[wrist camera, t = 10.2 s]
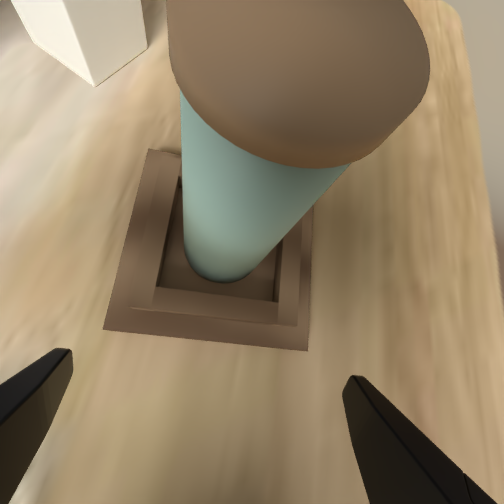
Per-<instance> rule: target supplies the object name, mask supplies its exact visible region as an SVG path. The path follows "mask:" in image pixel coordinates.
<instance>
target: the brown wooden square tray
mask: <svg viewBox="0 0 504 504" xmlns="http://www.w3.org/2000/svg"><path fill="white" fill-rule="evenodd" d="M312 225H313V205H312V207H311V208H310V209H309V210H308V211H307V212H306V213H305V214H304V215H303V216H302V217H301V219H300V220H299V221H298V222H297V223H296V224H295V225H294V226H293V227H292V228H291V229H290V231H289V232H288V233H287V234H286V235H285V236H284V237H283V238H282V239H281V240H280V241H279V243H278V244H277V245H276V246H275V247H274V248H273V249H272V250H271V251H270V252H269V253H268V255H267V256H266V257H265V258H264V259H263V260H262V261H261V262H260V263H259V264H258V265H257V267H256V268H255V269H254V270H253V271H252V272H251V273H250V274H249V275H248V276H246V277H245V278H243V279H241V280H239V281H236V282H233V283H225V284H223V283H215V282H211V281H208V280H206V279H204V278H203V277H201V276H200V275H198V274H197V273H196V272H195V271H194V270H193V269H192V268H191V266H190V265H189V263H188V261H187V259H186V256H185V252H184V229H183V188H182V155H178V154H173V153H168V152H163V151H158V150H153V149H148V153H147V156H146V160H145V164H144V168H143V172H142V176H141V180H140V184H139V188H138V192H137V196H136V200H135V204H134V208H133V212H132V216H131V220H130V223H129V227H128V231H127V235H126V239H125V243H124V247H123V251H122V255H121V259H120V263H119V267H118V271H117V275H116V279H115V283H114V287H113V290H112V294H111V298H110V302H109V306H108V310H107V314H106V318H105V322H104V326H103V330H110V331H120V332H129V333H139V334H148V335H157V336H167V337H176V338H186V339H195V340H205V341H214V342H223V343H233V344H242V345H252V346H261V347H271V348H280V349H290V350H299V351H308V334H309V307H310V280H311V252H312Z"/></svg>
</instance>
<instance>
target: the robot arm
mask: <svg viewBox="0 0 504 504" xmlns="http://www.w3.org/2000/svg"><path fill="white" fill-rule="evenodd" d="M72 374H73V357H72V351H71V350H70V349H65V348H55V349H53V350H52V351H50V352H49V353H47V354H46V355H44V356H43V357H41V358H40V359H38V360H37V361H35V362H34V363H32V364H31V365H29V366H28V367H26V368H25V369H23V370H22V371H20V372H19V373H17V374H16V375H14V376H13V377H11V378H10V379H8V380H7V381H5V382H4V383H2V384H1V385H0V504H9V502H10V500H11V498H12V496H13V494H14V493H15V491H16V489H17V487H18V485H19V484H20V482H21V480H22V478H23V476H24V474H25V473H26V471H27V469H28V467H29V465H30V464H31V462H32V460H33V458H34V456H35V454H36V453H37V451H38V449H39V447H40V445H41V443H42V442H43V440H44V438H45V436H46V434H47V432H48V430H49V428H50V426H51V424H52V421H53V419H54V417H55V414H56V412H57V410H58V407H59V405H60V403H61V400H62V398H63V396H64V393H65V391H66V389H67V386H68V384H69V381H70V379H71V377H72ZM342 398H343V403H344V408H345V413H346V418H347V423H348V428H349V432H350V437H351V442H352V446H353V449H354V453H355V456H356V459H357V463H358V466H359V469H360V473H361V476H362V479H363V483H364V486H365V489H366V493H367V496H368V499H369V502H370V504H497V503H496V502H495V501H494V500H493V499H492V498H491V497H490V496H489V495H488V494H486V493H485V492H484V491H483V490H482V489H481V488H480V487H479V486H478V485H477V484H476V483H475V482H474V481H473V480H472V479H471V478H469V477H468V476H467V475H466V474H465V473H463V471H462V470H461V469H460V468H459V467H458V466H457V465H456V464H455V463H454V462H453V461H452V460H451V459H450V458H448V457H447V456H446V455H445V454H444V453H443V452H442V451H441V450H440V449H439V448H438V447H437V446H436V445H435V444H434V443H433V442H432V441H431V440H430V439H429V438H428V437H426V436H425V435H424V434H423V433H422V432H421V431H420V430H419V429H418V428H417V427H416V426H415V425H414V424H413V423H412V422H411V421H410V420H409V419H408V418H407V417H406V416H405V415H403V414H402V413H401V412H400V411H399V410H398V409H397V408H396V407H395V406H394V405H393V404H392V403H391V402H390V401H389V400H388V399H387V398H386V397H385V396H384V395H383V394H381V393H380V392H379V391H378V390H377V389H376V388H375V387H374V386H373V385H372V384H371V383H370V382H369V381H368V380H367V379H366V378H365V377H363V376H358V375H352V376H350V378H349V379H348V381H347V383H346V385H345V387H344V389H343V393H342Z"/></svg>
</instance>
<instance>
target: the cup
mask: <svg viewBox="0 0 504 504" xmlns="http://www.w3.org/2000/svg"><path fill="white" fill-rule="evenodd" d="M166 7H167V24H168V41H169V57H170V62H171V67H172V71H173V73H174V76H175V79H176V82H177V84H178V86H179V88H180V106H181V147H182V188H183V229H184V252H185V256H186V259H187V261H188V263H189V265H190V266H191V268H192V269H193V270H194V271H195V272H196V273H197V274H198V275H200V276H201V277H203V278H204V279H206V280H208V281H211V282H215V283H223V284H225V283H233V282H236V281H239V280H241V279H243V278H245V277H246V276H248V275H249V274H250V273H251V272H252V271H253V270H254V269H255V268H256V267H257V265H258V264H259V263H260V262H261V261H262V260H263V259H264V258H265V257H266V256H267V255H268V253H269V252H270V251H271V250H272V249H273V248H274V247H275V246H276V245H277V244H278V243H279V241H280V240H281V239H282V238H283V237H284V236H285V235H286V234H287V233H288V232H289V231H290V229H291V228H292V227H293V226H294V225H295V224H296V223H297V222H298V221H299V220H300V219H301V217H302V216H303V215H304V214H305V213H306V212H307V211H308V210H309V209H310V208H311V207H312V205H313V204H314V203H315V202H316V201H317V200H318V199H319V198H320V197H321V196H322V195H323V193H324V192H325V191H326V190H327V189H328V188H329V187H330V186H331V185H332V184H333V183H334V181H335V180H336V179H337V178H338V177H339V176H340V175H341V174H342V173H343V172H344V171H345V169H346V168H347V167H348V166H349V165H350V164H351V163H352V162H354V161H357V160H360V159H361V158H363V157H365V156H367V155H368V154H370V153H371V152H373V151H374V150H375V149H376V148H377V147H378V146H380V145H381V144H382V143H383V142H384V140H385V139H386V138H387V137H388V136H389V135H390V134H391V133H392V132H393V131H394V130H395V129H396V128H397V127H398V126H399V125H400V124H401V123H402V122H403V121H404V120H405V119H406V118H407V117H408V116H409V115H410V114H411V113H412V112H413V111H414V109H415V108H416V107H417V106H418V104H419V103H420V102H421V100H422V98H423V96H424V94H425V92H426V89H427V86H428V82H429V75H430V58H429V53H428V48H427V44H426V41H425V38H424V35H423V32H422V30H421V28H420V26H419V24H418V22H417V20H416V19H415V17H414V15H413V14H412V12H411V11H410V9H409V8H408V6H407V5H406V4H405V2H404V1H403V0H166Z"/></svg>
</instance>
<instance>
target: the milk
mask: <svg viewBox="0 0 504 504" xmlns="http://www.w3.org/2000/svg"><path fill="white" fill-rule="evenodd" d="M11 2H12V4H13V5H14V7H15V9H16V11H17V13H18V15H19V17H20V19H21V21H22V23H23V24H24V26H25V28H26V30H27V32H28V34H29V36H30V38H31V39H32V41H33V43H35V44H36V45H37V46H39V47H40V48H41V49H43V50H44V51H46V52H47V53H48V54H50V55H51V56H52V57H54V58H55V59H57V60H58V61H59V62H61V63H62V64H63V65H65V66H66V67H68V68H69V69H70V70H72V71H73V72H74V73H76V74H77V75H79V76H80V77H81V78H83V79H84V80H85V81H87V82H88V83H90V84H91V85H92V86H94V87H96V86H98V85H99V84H100V83H102V82H103V81H104V80H106V79H107V78H108V77H110V76H111V75H112V74H114V73H115V72H116V71H118V70H119V69H120V68H122V67H123V66H124V65H126V64H127V63H128V62H130V61H131V60H133V59H134V58H135V57H137V56H138V55H139V54H141V53H142V52H143V51H145V50H146V49H147V39H146V33H145V26H144V19H143V12H142V5H141V0H11Z"/></svg>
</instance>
